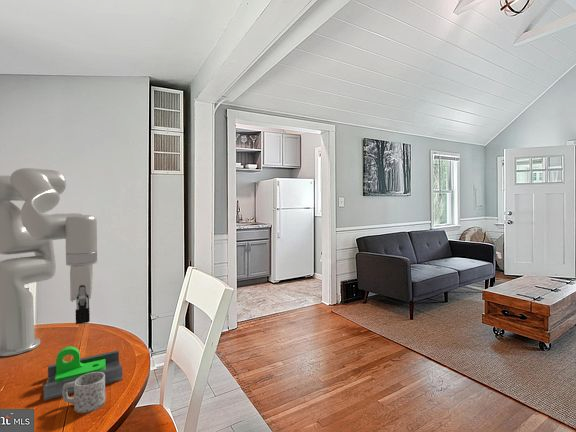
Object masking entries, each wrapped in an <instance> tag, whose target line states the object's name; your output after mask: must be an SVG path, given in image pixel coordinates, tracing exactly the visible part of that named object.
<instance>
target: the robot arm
mask: <svg viewBox="0 0 576 432" xmlns="http://www.w3.org/2000/svg"><path fill="white" fill-rule="evenodd" d="M65 178H66V177H64V175H63V174H62V173H61V172H59V171H58V170H53V169H46V168H45V169H42V168H31V167H24V168H19V169H16V170H15V171H13V172H12V173H11V174H10V175H0V255H4V256H5V255H7V256H10V255H20V254H29V253H33V254H34V255H31V256H30V255H29V256H20V257H13V258H7V259H4V260H1V261H0V357H9V356H11V357H12V356H17V355H19V354H23V353H26V352H29V351H31V350H34V349H35V348H37V347H38V346H40V345H41V339H40V338H39V337H35V318H34V317H35V316H34V315H35V314H34V312H35V311H34V308H35V307H34V296H33V293H32V292H31V291H30V290H29V289H28V288H26V287H25V285H29V284H32V283H38V282H43V281H44V282H45V281H48V280H51V279H52V278H53V277H54V276H55V275H56V271H57V268H56V267H57V265H56V256H55V248H54V242H53V241H56V240H65V265H66V266H69V268H70V270H69V271H70V272H69V290H70V292H69V293H70V295H69V297H70V298H69V300H70V302H72V303H73V302H74V301H75V303H76V305H75V306H76V309H75V325H80V324H81V325H82V324H87V323H90V321H91V320H90V299H92V290H93V277H94V276H93V273H94V272H93V268H94V267H93V265H95V264H98V227H97V226H98V221H97V218H96V216H94V215H90V214H82V213H78V212H77V213H74V212H73V213H71V212H70V213H68V212H67V213H47V212H49V211H51V210H53V209H54V208H56V207H57V206H58V204H59V202H60V200H61V199H60V195H61V194H63V193H64V192H65V190H66V188H67V187H66V186H67V182H66V179H65ZM12 201H16V202H18V201H20V202H24V203H23V204H22V207H21V208H20V207H18V205H16V204H15V203H14V202H12Z"/></svg>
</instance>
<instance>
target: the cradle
mask: <svg viewBox="0 0 576 432" xmlns="http://www.w3.org/2000/svg"><path fill="white" fill-rule="evenodd" d="M119 353H120V351H119V350H118V349H115V350H112V351H109V352H108V351H107V352H104V353H103V352H102V353H99V354H95V355H91V356H90V355H89V356H86V357H85V356H84V357H80V362H81V363H83V364H84V363H89V362H93V361H98V360H102V359H105V362H106V369H105V370H101V371H97V372H102V373H104V374H105V385H108V384H111V383H115V382H119V381H122V380H123V378H124V377H123V366H122V365H121V363H120V354H119ZM69 361H70V360H67V361H66V362H69ZM81 376H82V375H81ZM55 377H56V363H54V364H49V365H48V366H47V381H46V383H45V384H43V401H47V400H52V399H55V398H59V397H63V395H62V390H63V386H64V384H66V383H69V382H73V381H75V380H76V379H77V378H78V377H80V376H77V377H73V378H69V379H65V380H61V381H56V382H55ZM67 393H68V395H70V394H74V388H72V387H68V388H67Z"/></svg>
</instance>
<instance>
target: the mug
mask: <svg viewBox="0 0 576 432" xmlns="http://www.w3.org/2000/svg"><path fill="white" fill-rule="evenodd" d="M68 387H72V388H74V393H73V397H71V396H69V394H68V393H67V388H68ZM62 395H63V396H62V400H63V402H66V403H69V404H73V406H74V407H73V409H74V411H75V412H76V413H77V414H87V413H91V412H94V411H96V410H98V409H100V408H101V407H103V406H104V405H105V403H106V384H105V374H104V373H102V372H92V373H88V374H85V375H82V376H80V377H78V378H77V379H76V380H75V381H73V382H69V383H66V384H64V386H63V390H62Z"/></svg>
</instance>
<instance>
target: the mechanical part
mask: <svg viewBox="0 0 576 432" xmlns="http://www.w3.org/2000/svg"><path fill="white" fill-rule="evenodd" d="M67 356H72V357H73V358H72V359H71V360H68V361H69V362H67V361H65V360H64V357H67ZM80 358H81V354H80V350H79V349H78V348H77V347H75V346H66V347H64V348H62V349H60V351H59V352H58V353H57V355H56V358H55V364H56V377H55V382H56V381H61V380H65V379H69V378H73V377H77V376H81V375H85V374H88V373H92V372H97V371H101V370H105V369H106V362H105V359H102V360H98V361H93V362H89V363H84V364H83V363H81V362H80Z"/></svg>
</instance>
